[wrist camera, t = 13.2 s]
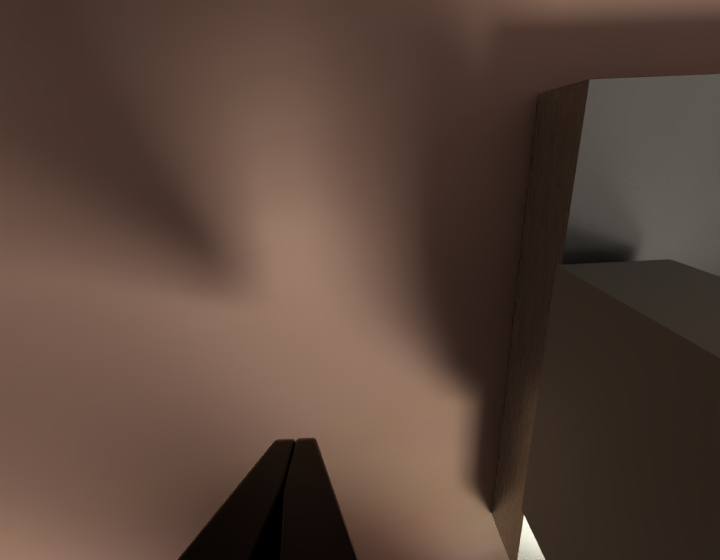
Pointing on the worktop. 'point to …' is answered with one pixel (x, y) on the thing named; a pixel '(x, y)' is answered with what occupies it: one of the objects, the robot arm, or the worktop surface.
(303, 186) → the worktop surface
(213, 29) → the worktop surface
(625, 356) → the ram
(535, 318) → the press
